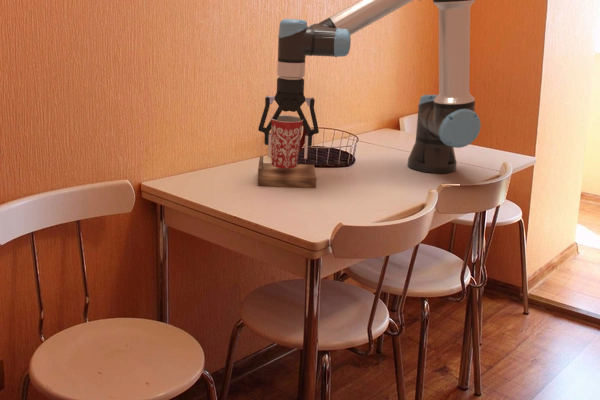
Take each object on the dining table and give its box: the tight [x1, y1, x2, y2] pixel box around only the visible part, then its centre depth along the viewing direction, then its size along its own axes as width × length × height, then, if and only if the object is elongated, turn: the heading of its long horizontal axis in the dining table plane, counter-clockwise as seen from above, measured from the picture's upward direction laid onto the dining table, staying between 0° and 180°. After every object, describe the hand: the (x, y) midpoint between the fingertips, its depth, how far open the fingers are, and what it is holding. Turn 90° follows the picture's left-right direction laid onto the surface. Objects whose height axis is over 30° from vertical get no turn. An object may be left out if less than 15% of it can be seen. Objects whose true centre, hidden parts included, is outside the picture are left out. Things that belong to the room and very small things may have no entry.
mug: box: [270, 114, 308, 168], centre depth 197 cm, size 13×9×14 cm
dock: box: [257, 155, 317, 189], centre depth 200 cm, size 16×14×5 cm
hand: (287, 156), depth 198 cm, fingers closed on mug, 9 cm apart
